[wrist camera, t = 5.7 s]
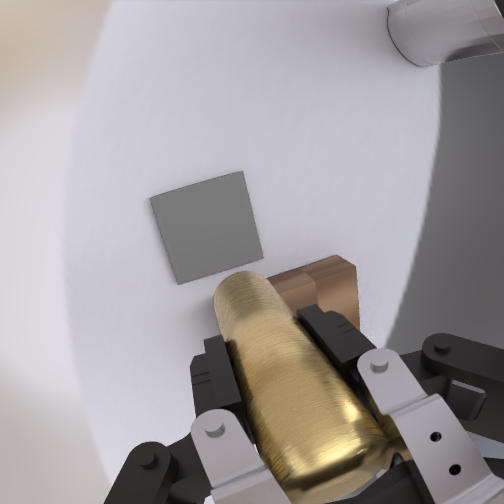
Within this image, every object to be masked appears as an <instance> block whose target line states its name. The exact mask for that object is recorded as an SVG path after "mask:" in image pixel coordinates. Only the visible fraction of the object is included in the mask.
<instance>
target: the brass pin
mask: <svg viewBox="0 0 504 504" xmlns="http://www.w3.org/2000/svg"><path fill="white" fill-rule="evenodd" d="M213 304H214V309H215V313H216V316H217V320H218V324H219V327H220V331H221V334H222V335H223V338H224V341H225V344H226V347H227V351H228V354H229V357H230V361H231V364H232V367H233V371H234V374H235V377H236V380H237V384H238V387H239V390H240V393H241V396H242V399H243V402H244V405H245V408H246V411H247V420H248V424H249V427H250V430H251V433H252V436H253V439H254V441H255V444H256V447H257V450H258V453H259V456H260V458H261V460H262V462H263V463H264V465H265V466H266V467H267V468H268V469H269V471H270V472H271V474H272V475H273V477H274V478H275V480H276V481H277V483H278V484H279V486H280V487H281V489H282V490H283V492H284V493H285V494H286V496H287V497H288V499H289V500H290V502H291V503H292V504H324V503H327V502H330V501H333V500H335V499H337V498H340V497H342V496H344V495H346V494H348V493H350V492H352V491H353V490H355V489H357V488H359V487H360V486H362V485H363V484H364V483H366V482H367V481H369V480H370V479H371V478H373V477H374V476H375V475H376V474H377V473H378V472H380V471H381V469H382V467H383V464H384V460H385V456H386V452H387V448H388V444H389V439H388V437H387V436H386V434H385V433H384V431H383V430H382V428H381V427H380V425H379V424H378V422H377V421H376V420H375V419H374V417H373V416H372V415H371V413H370V412H369V411H368V410H367V408H366V407H365V406H364V404H363V403H362V402H361V401H360V399H359V398H358V397H357V395H356V394H355V393H354V391H353V390H352V389H351V388H350V386H349V385H348V384H347V382H346V381H345V380H344V379H343V377H342V376H341V375H340V373H339V372H338V371H337V369H336V368H335V367H334V366H333V364H332V363H331V362H330V360H329V359H328V358H327V356H326V355H325V354H324V353H323V351H322V350H321V349H320V347H319V346H318V345H317V343H316V342H315V341H314V340H313V338H312V337H311V336H310V334H309V333H308V332H307V330H306V329H305V328H304V326H303V325H302V324H301V323H300V321H299V320H298V319H297V317H296V316H295V315H294V313H293V312H292V311H291V310H290V308H289V307H288V306H287V304H286V303H285V302H284V300H283V299H282V298H281V296H280V295H279V294H278V293H277V291H276V290H275V289H274V287H273V286H272V285H271V283H270V282H269V281H268V280H267V279H266V278H265V277H264V276H262V275H261V274H258V273H256V272H251V271H242V272H237V273H235V274H232V275H230V276H228V277H227V278H225V279H224V280H223V281H222V282H221V283H220V284H219V286H218V287H217V289H216V291H215V294H214V299H213Z"/></svg>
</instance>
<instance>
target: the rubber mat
mask: <svg viewBox="0 0 504 504" xmlns="http://www.w3.org/2000/svg"><path fill="white" fill-rule="evenodd" d="M150 200H151V204H152V207H153V210H154V214H155V217H156V220H157V223H158V226H159V230H160V233H161V236H162V239H163V242H164V245H165V248H166V251H167V254H168V257H169V260H170V263H171V266H172V268H173V271H174V274H175V277H176V280H177V282H178V285H180V284H183V283H187V282H190V281H193V280H196V279H200V278H203V277H206V276H209V275H213V274H216V273H219V272H222V271H225V270H229V269H232V268H235V267H238V266H241V265H245V264H248V263H251V262H254V261H257V260H261V259H264V257H263V253H262V249H261V245H260V241H259V236H258V232H257V228H256V224H255V220H254V216H253V211H252V207H251V203H250V199H249V195H248V191H247V187H246V182H245V178H244V174H243V171H240V172H236V173H233V174H229V175H225V176H221V177H218V178H214V179H210V180H207V181H203V182H200V183H196V184H193V185H190V186H186V187H183V188H179V189H176V190H173V191H170V192H166V193H163V194H160V195H157V196H154V197H151V198H150Z"/></svg>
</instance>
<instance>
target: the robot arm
mask: <svg viewBox="0 0 504 504" xmlns="http://www.w3.org/2000/svg"><path fill="white" fill-rule="evenodd" d="M388 10H389V16H388V30H389V33H390V36H391V38H392V40H393V42H394V43H395V45H396V47H397V48H398V49H399V51H400V52H401V53H402V54H403V55H404V56H405V57H406V58H407V59H408V60H409V61H411V62H412V63H414V64H416V65H418V66H422V67H426V66H431V65H437V64H440V63H444V62H449V61H454V60H459V59H464V58H470V57H476V56H481V55H489V54H496V53H504V0H399V1H397V2H395V3H394V4H392V5H390V6H388ZM296 315H297V319H298V320H299V321H300V323H301V324H302V325H303V326H304V328H305V329H306V330H307V332H308V333H309V334H310V336H311V337H312V338H313V340H314V341H315V342H316V343H317V345H318V346H319V347H320V349H321V350H322V351H323V353H324V354H325V355H326V356H327V358H328V359H329V360H330V362H331V363H332V364H333V366H334V367H335V368H336V369H337V371H338V372H339V373H340V375H341V376H342V377H343V379H344V380H345V381H346V382H347V384H348V385H349V386H350V388H351V389H352V390H353V391H354V393H355V394H356V395H357V397H358V398H359V399H360V401H361V402H362V403H363V404H364V406H365V407H366V408H367V410H368V411H369V412H370V413H371V415H372V416H373V417H374V419H375V420H376V421H377V422H378V424H379V425H380V427H381V428H382V430H383V431H384V433H385V434H386V436H387V437H388V439H389V444H388V448H387V452H386V456H385V460H384V464H383V467H382V469H381V471H380V472H378V473H377V478H378V479H377V480H376V481H375V482H374V483H372V484H371V485H370V486H369V487H368V488H366V489H365V490H364V491H363V492H361V493H360V494H359V495H357V496H355V497H353V498H348V499H344V500H340V501H335V502H330V503H325V504H504V459H497V458H486V457H482V456H481V454H480V453H479V451H478V450H477V448H476V446H475V445H474V443H473V442H472V440H471V439H470V437H469V436H468V434H467V433H466V431H469V432H472V433H475V434H478V435H481V436H483V437H487V438H490V439H492V440H496V441H499V442H502V443H504V349H500V348H497V347H493V346H490V345H486V344H482V343H478V342H475V341H471V340H468V339H464V338H461V337H457V336H454V335H451V334H447V333H438V334H433V335H431V336H429V337H428V338H426V339H425V341H424V342H423V346H422V350H420V351H416V352H412V353H408V354H404V355H398V354H397V353H396V352H394V351H392V350H389V349H385V348H377V347H376V346H374V345H373V344H372V343H371V342H370V341H369V340H368V339H367V338H366V337H365V336H364V335H363V334H362V333H361V332H360V331H359V330H358V329H356V328H355V326H354V325H353V324H352V323H350V322H349V320H348V319H347V318H345V317H344V316H343V315H342V314H340V313H337V312H335V311H332V310H330V311H327V312H325V313H324V312H323V311H322V310H321V309H320V307H319V306H318V305H317V304H315V303H313V304H310V305H307V306H305V307H302V308H299V309H297V310H296ZM204 346H205V352H206V353H204V354H201V355H197V356H194V358H193V360H192V363H191V365H190V373H191V382H192V390H193V398H194V406H195V413H196V419H195V420H194V422H193V424H192V426H191V432H190V433H189V434H188V435H187V436H186V437H184V438H183V439H181V440H179V441H177V442H175V443H173V444H171V445H169V446H167V447H166V446H165V445H163V444H161V443H159V442H145V443H142V444H140V445H138V446H136V447H135V448H134V449H133V450H132V451H131V452H130V454H129V455H128V457H127V459H126V461H125V463H124V465H123V467H122V469H121V471H120V473H119V474H118V476H117V478H116V480H115V482H114V484H113V486H112V488H111V490H110V492H109V494H108V496H107V498H106V500H105V502H104V504H204V501H205V498H206V497H208V496H210V495H212V498H213V500H214V502H215V504H292V503H291V502H290V500H289V499H288V497H287V496H286V494H285V493H284V492H283V490H282V489H281V487H280V486H279V484H278V483H277V481H276V480H275V478H274V477H273V475H272V474H271V472H270V471H269V469H268V468H267V467H266V466H265V465H264V463H263V462H262V460H261V458H260V457H259V455H258V454H257V452H256V450H255V448H254V445H253V444H255V441H254V439H253V436H252V433H251V430H250V427H249V424H248V420H247V411H246V408H245V405H244V402H243V399H242V396H241V393H240V390H239V387H238V384H237V380H236V377H235V374H234V371H233V367H232V364H231V361H230V357H229V354H228V351H227V347H226V344H225V341H224V338H223V335H222V334H221V335H218V336H215V337H211V338H208V339H205V340H204ZM453 380H456V381H459V382H462V383H465V384H469V385H472V386H474V387H478V388H481V389H483V390H484V391H485V393H478V392H475V391H472V390H469V389H466V388H463V387H460V386H457V385H454V384H452V382H453ZM465 430H466V431H465Z"/></svg>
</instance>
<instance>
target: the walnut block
mask: <svg viewBox="0 0 504 504" xmlns="http://www.w3.org/2000/svg"><path fill="white" fill-rule="evenodd" d="M267 280H268V281H269V282H270V283H271V285H272V286H273V287H274V289H275V290H276V291H277V293H278V294H279V295H280V296H281V298H282V299H283V300H284V302H285V303H286V304H287V306H288V307H289V308H290V310H291V311H292V312H293V313H294V315H295V316H296V317H297V315H296V310H297V309H299V308H302V307H305V306H307V305H310V304H313V303H315V304H317V305H318V306H319V307H320V309H321V310H322V311H323V312H324V313H325V312H327V311H330V310H332V311H335V312H337V313H340V314H342V315H343V316H344V317H345V318H347V319H348V320H349V322H350V323H352V324H353V325H354V326H355V328H356V329H358V330H359V331H360V317H359V300H358V286H357V274H356V266H355V265H353V264H351V263H350V262H348V261H347V260H345V259H343V258H342V257H340V256H338V255H335V256H332V257H329V258H327V259H324V260H321V261H318V262H315V263H312V264H309V265H306V266H303V267H300V268H297V269H294V270H291V271H288V272H285V273H282V274H279V275H276V276H273V277H270V278H267Z"/></svg>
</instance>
